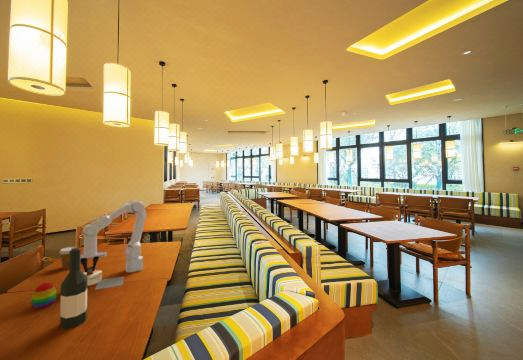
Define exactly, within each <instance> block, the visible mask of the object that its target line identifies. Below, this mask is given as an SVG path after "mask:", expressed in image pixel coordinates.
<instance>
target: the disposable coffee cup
mask: <svg viewBox="0 0 523 360" xmlns="http://www.w3.org/2000/svg"><path fill="white" fill-rule="evenodd" d="M75 247H76V246H67V247H64V248H61V249H60V250H59V251H58V252H59V254H60V260H61V267H62V270H69V263H70V250H71V249H72V248H75Z"/></svg>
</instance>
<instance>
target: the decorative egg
mask: <svg viewBox="0 0 523 360" xmlns="http://www.w3.org/2000/svg"><path fill="white" fill-rule="evenodd" d="M57 292H58V291H57V288H56V287H55V285H54V284H52V283H50V282H43V283H41V284H39V285H38V286H37V287H36V288H35V289H34V291H33V293H32V295H31V304H32V306H33V307H34V308H35V309H44V308H47V307H50V306H51V305H52V304H53V303H54V302H55V300H56V298H57V294H58V293H57Z"/></svg>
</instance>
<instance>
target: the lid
mask: <svg viewBox="0 0 523 360" xmlns="http://www.w3.org/2000/svg"><path fill="white" fill-rule="evenodd" d="M82 272H83V271H82ZM83 273H84V274H85V275H86V277H87V278H88V279H92V278H96V277H98V276H100V275H103V271H102V270H101V269H100V270H99V269H95V271H93V266H87V272H85V271H84V272H83ZM88 279H87V280H88Z"/></svg>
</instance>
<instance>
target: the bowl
mask: <svg viewBox="0 0 523 360" xmlns="http://www.w3.org/2000/svg"><path fill="white" fill-rule="evenodd" d="M102 275H103V274H102ZM102 275H100V276H98V277H96V278H92V279H88V280H87V287H89V286H93V285H97V283H98V282H100V281H101V280H103V279H102Z"/></svg>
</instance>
